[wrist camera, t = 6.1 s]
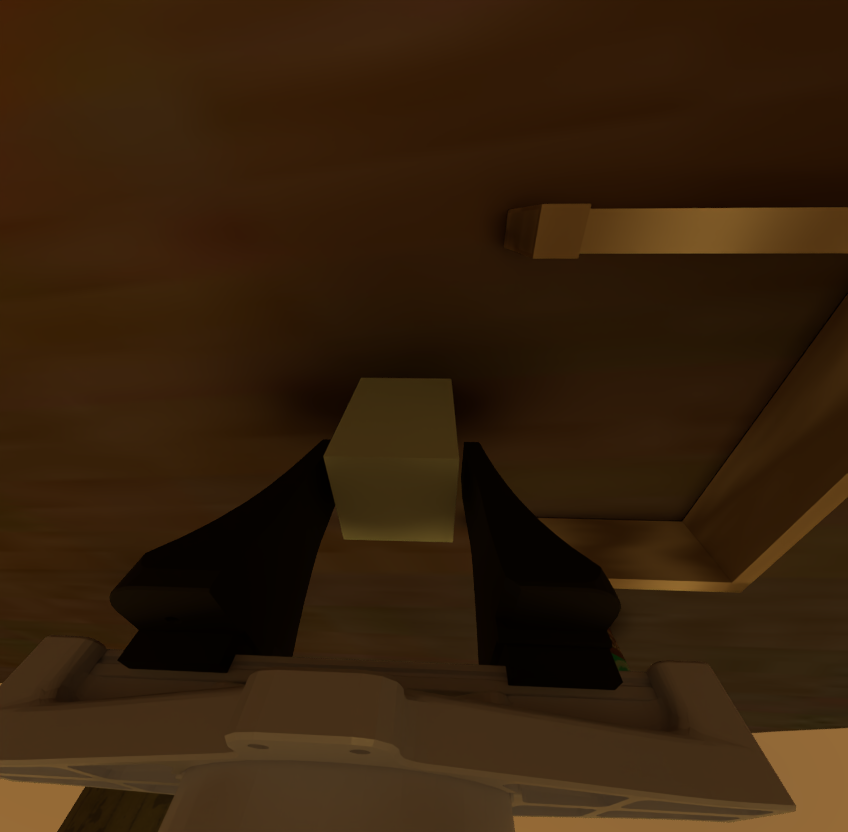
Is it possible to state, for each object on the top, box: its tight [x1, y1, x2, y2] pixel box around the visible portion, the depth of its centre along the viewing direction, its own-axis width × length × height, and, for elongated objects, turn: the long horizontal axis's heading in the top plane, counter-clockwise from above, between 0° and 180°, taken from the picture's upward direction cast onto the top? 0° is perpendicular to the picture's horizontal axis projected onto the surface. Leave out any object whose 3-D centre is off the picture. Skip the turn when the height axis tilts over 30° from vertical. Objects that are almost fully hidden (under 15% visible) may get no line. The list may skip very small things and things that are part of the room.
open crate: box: [504, 204, 848, 593], centre depth 14 cm, size 15×18×4 cm
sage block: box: [323, 378, 459, 542], centre depth 14 cm, size 4×4×6 cm
